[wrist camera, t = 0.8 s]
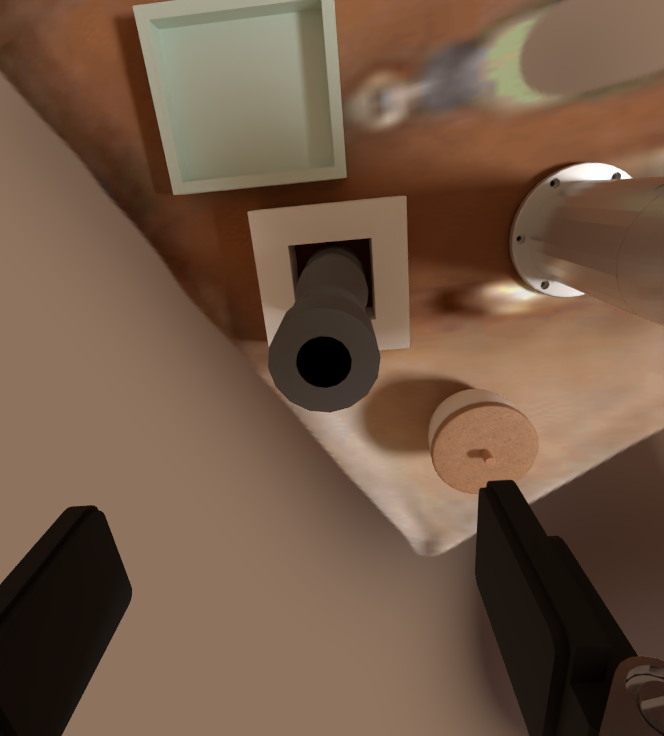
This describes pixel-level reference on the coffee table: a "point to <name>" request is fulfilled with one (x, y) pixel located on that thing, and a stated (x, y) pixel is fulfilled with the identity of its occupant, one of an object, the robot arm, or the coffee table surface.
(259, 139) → the parts tray
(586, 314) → the coffee table surface
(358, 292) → the candle holder
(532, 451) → the lidded jar
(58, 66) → the coffee table surface
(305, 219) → the socket block
